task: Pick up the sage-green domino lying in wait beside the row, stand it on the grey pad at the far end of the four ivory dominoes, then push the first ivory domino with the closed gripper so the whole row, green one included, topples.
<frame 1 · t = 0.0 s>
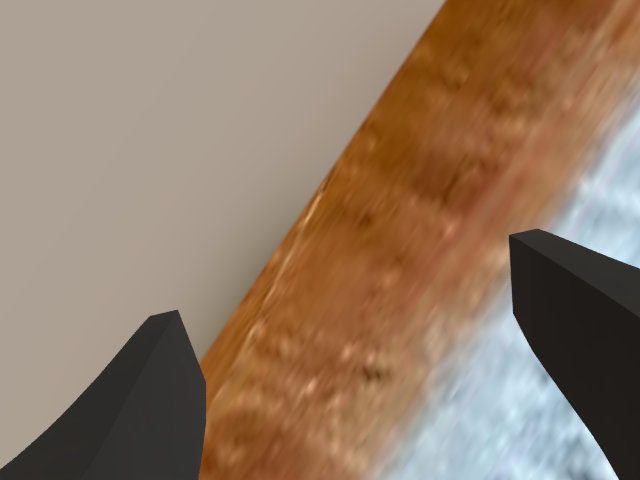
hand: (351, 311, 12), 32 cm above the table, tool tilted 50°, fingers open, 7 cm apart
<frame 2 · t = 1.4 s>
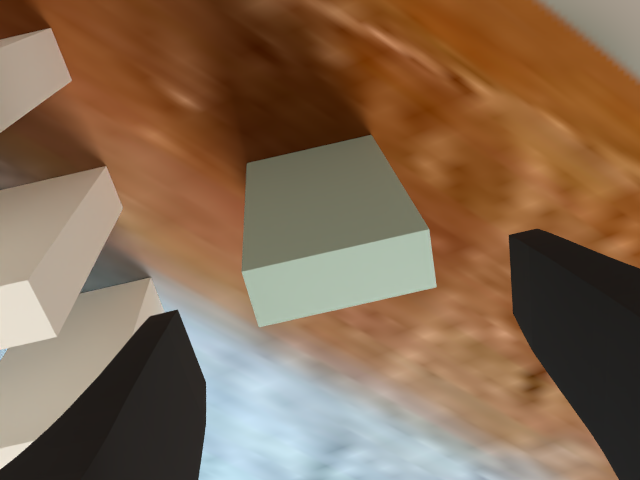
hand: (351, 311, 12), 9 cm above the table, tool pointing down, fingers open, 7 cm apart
domino 3: (52, 201, 20), on the table
domino 2: (101, 307, 22), on the table
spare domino: (313, 170, 20), on the table
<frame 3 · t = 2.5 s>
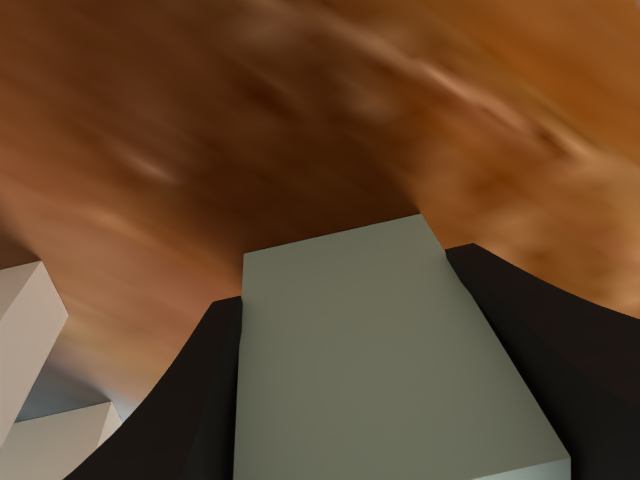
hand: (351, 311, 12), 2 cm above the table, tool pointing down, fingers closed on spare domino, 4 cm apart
domino 2: (45, 439, 16), on the table
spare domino: (338, 261, 14), on the table, touching gripper
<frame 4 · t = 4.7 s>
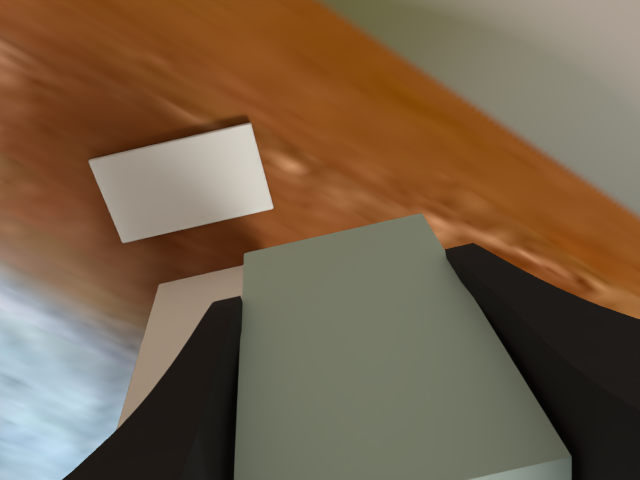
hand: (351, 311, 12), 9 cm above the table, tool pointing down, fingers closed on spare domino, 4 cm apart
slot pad: (184, 183, 20), on the table
domino 4: (220, 288, 22), on the table
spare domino: (338, 261, 14), point 7 cm above the table, touching gripper
when the fingers open (3 cm above the table, at t = 6.7 s): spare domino stays where it is, resting on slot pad.
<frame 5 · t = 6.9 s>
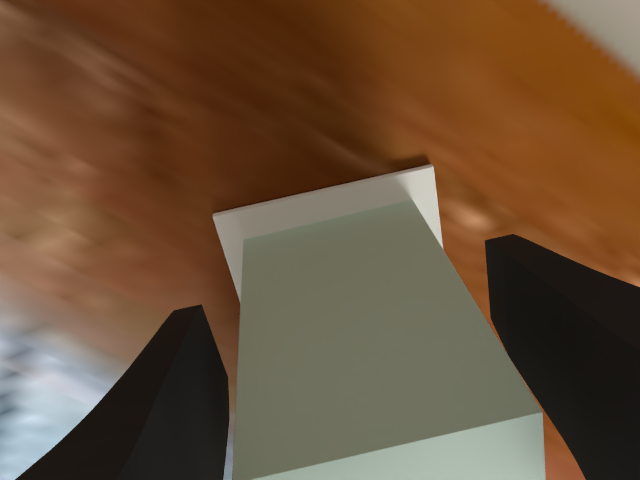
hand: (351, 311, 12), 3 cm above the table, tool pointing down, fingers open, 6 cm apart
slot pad: (334, 243, 15), on the table
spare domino: (334, 246, 15), resting on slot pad
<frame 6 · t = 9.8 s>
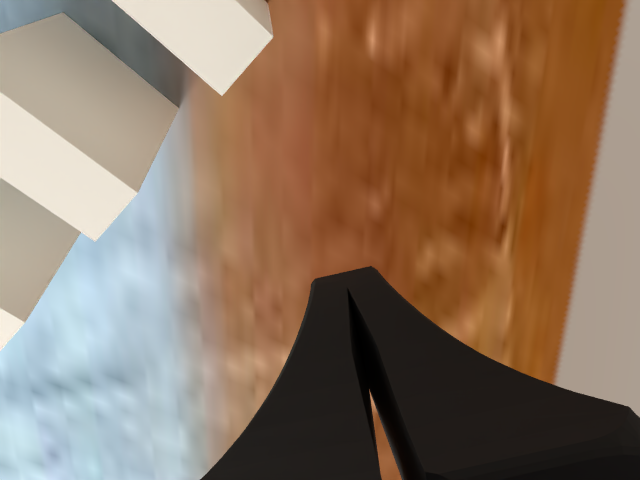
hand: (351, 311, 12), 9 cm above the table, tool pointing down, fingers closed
domino 2: (108, 81, 19), on the table
domino 1: (32, 178, 20), on the table
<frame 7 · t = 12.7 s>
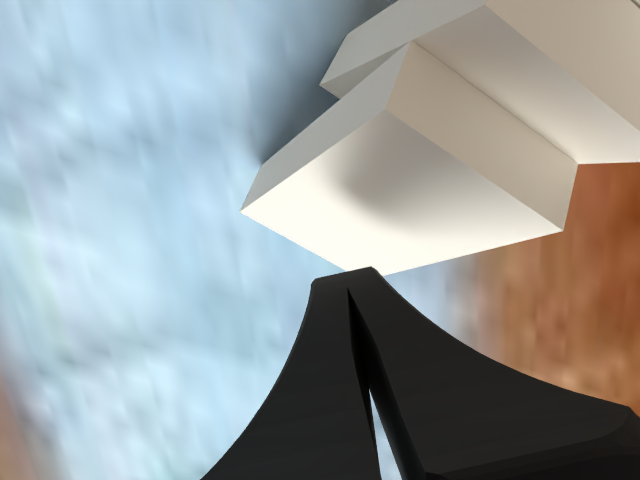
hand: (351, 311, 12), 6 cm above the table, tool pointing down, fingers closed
domino 2: (397, 104, 16), on the table, tilted 24°
domino 1: (313, 224, 17), point 1 cm above the table, tilted 43°
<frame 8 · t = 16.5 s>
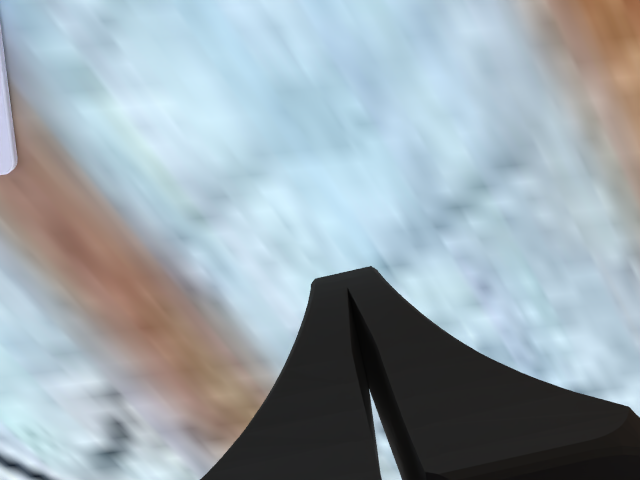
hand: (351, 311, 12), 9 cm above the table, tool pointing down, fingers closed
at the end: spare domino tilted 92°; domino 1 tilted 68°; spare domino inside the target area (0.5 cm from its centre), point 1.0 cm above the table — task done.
